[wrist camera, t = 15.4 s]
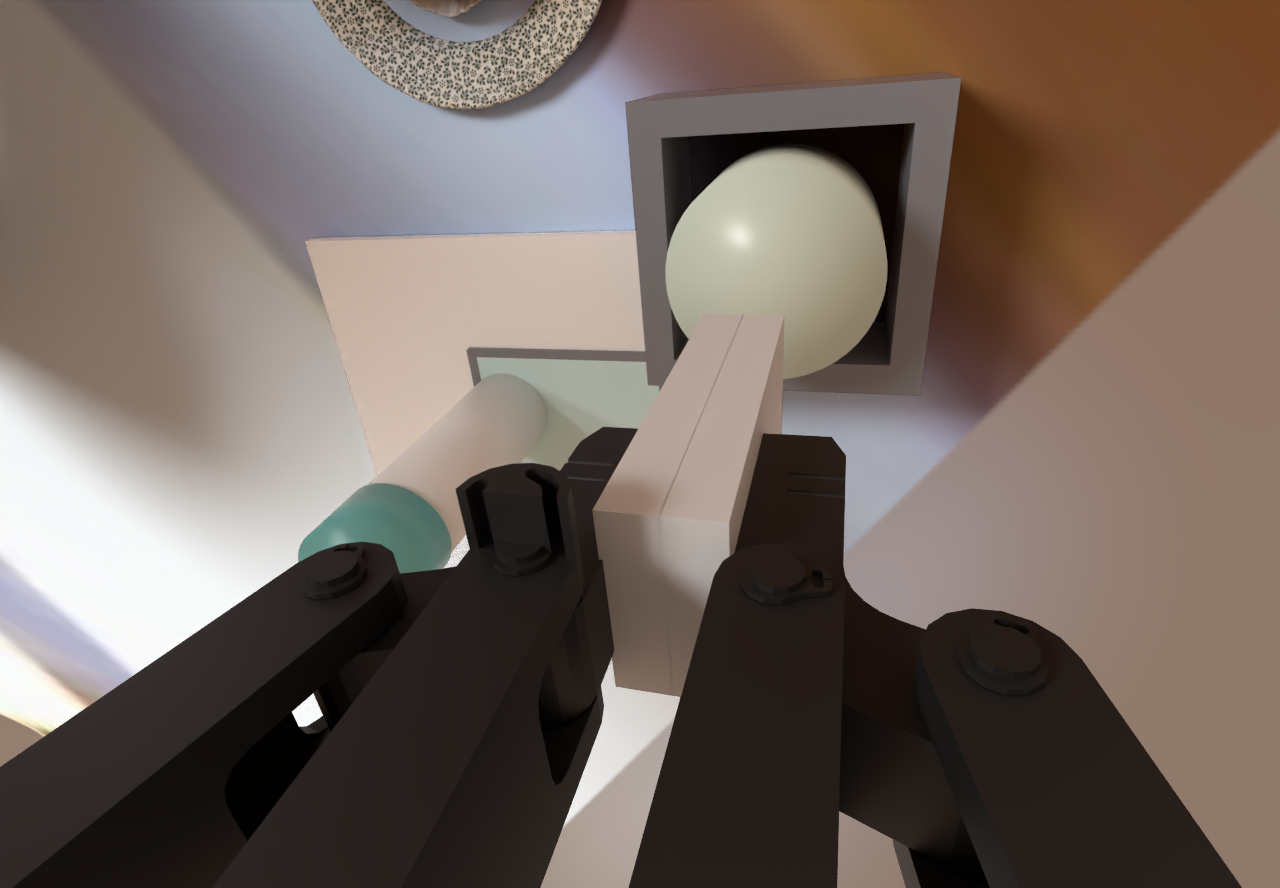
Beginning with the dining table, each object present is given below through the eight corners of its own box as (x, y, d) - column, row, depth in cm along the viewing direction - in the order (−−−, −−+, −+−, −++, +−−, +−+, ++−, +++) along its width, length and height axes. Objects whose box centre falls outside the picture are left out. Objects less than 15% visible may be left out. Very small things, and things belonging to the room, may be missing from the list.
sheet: (395, 507, 36) (387, 515, 36) (314, 238, 30) (303, 241, 29) (737, 540, 32) (735, 550, 31) (733, 228, 25) (730, 232, 24)
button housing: (672, 343, 28) (647, 385, 24) (657, 93, 23) (625, 102, 20) (911, 349, 25) (920, 395, 22) (944, 71, 21) (961, 77, 18)
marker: (474, 442, 32) (314, 614, 22) (465, 366, 30) (285, 519, 20) (551, 453, 31) (419, 637, 22) (547, 377, 29) (400, 541, 20)
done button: (695, 330, 25) (671, 376, 21) (688, 148, 22) (658, 168, 18) (873, 333, 23) (877, 383, 20) (891, 137, 20) (898, 156, 17)
